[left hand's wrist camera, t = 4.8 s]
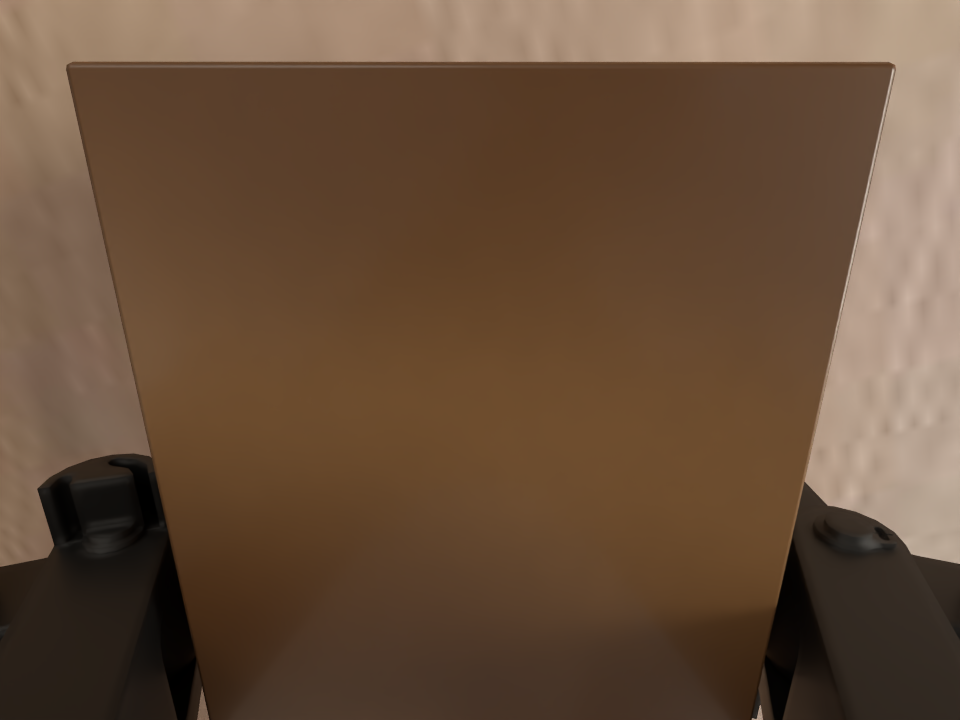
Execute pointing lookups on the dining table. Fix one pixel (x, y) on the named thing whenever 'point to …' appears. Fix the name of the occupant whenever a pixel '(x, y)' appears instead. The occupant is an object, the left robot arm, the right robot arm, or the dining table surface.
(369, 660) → the brown wooden beam
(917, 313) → the dining table surface
